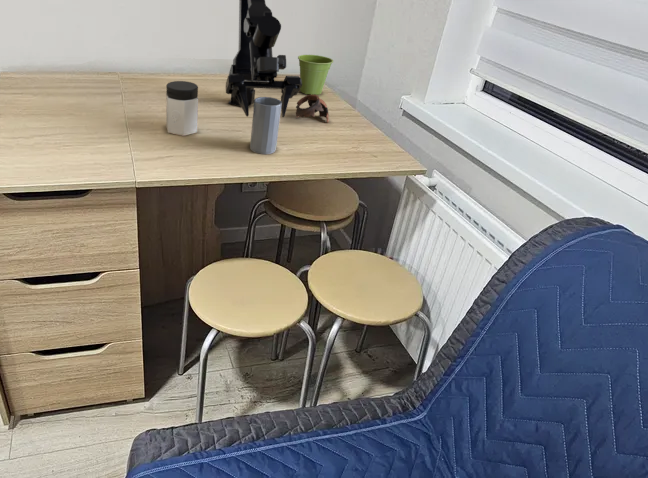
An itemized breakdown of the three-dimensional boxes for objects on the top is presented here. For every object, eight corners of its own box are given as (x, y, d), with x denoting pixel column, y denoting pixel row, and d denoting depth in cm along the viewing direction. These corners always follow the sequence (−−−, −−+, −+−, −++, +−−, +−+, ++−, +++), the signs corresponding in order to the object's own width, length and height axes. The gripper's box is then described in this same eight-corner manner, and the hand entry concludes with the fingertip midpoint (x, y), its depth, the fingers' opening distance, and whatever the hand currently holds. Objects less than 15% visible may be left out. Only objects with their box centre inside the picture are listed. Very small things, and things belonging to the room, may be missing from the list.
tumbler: (245, 150, 132) (250, 102, 125) (255, 141, 137) (260, 95, 131) (270, 156, 130) (276, 107, 123) (279, 147, 135) (285, 100, 129)
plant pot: (333, 92, 180) (339, 59, 174) (318, 100, 171) (324, 65, 165) (302, 84, 185) (307, 52, 179) (287, 92, 176) (291, 58, 170)
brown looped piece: (331, 128, 152) (323, 105, 146) (300, 137, 155) (291, 115, 150) (330, 105, 160) (322, 82, 154) (301, 114, 163) (292, 92, 158)
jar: (159, 131, 138) (159, 86, 131) (172, 122, 145) (172, 78, 138) (191, 138, 136) (192, 92, 130) (202, 127, 143) (204, 84, 136)
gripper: (230, 39, 124) (233, 100, 120) (305, 43, 127) (311, 102, 124) (223, 64, 134) (227, 120, 131) (293, 67, 138) (298, 122, 134)
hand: (265, 116), depth 130 cm, fingers open, 9 cm apart
